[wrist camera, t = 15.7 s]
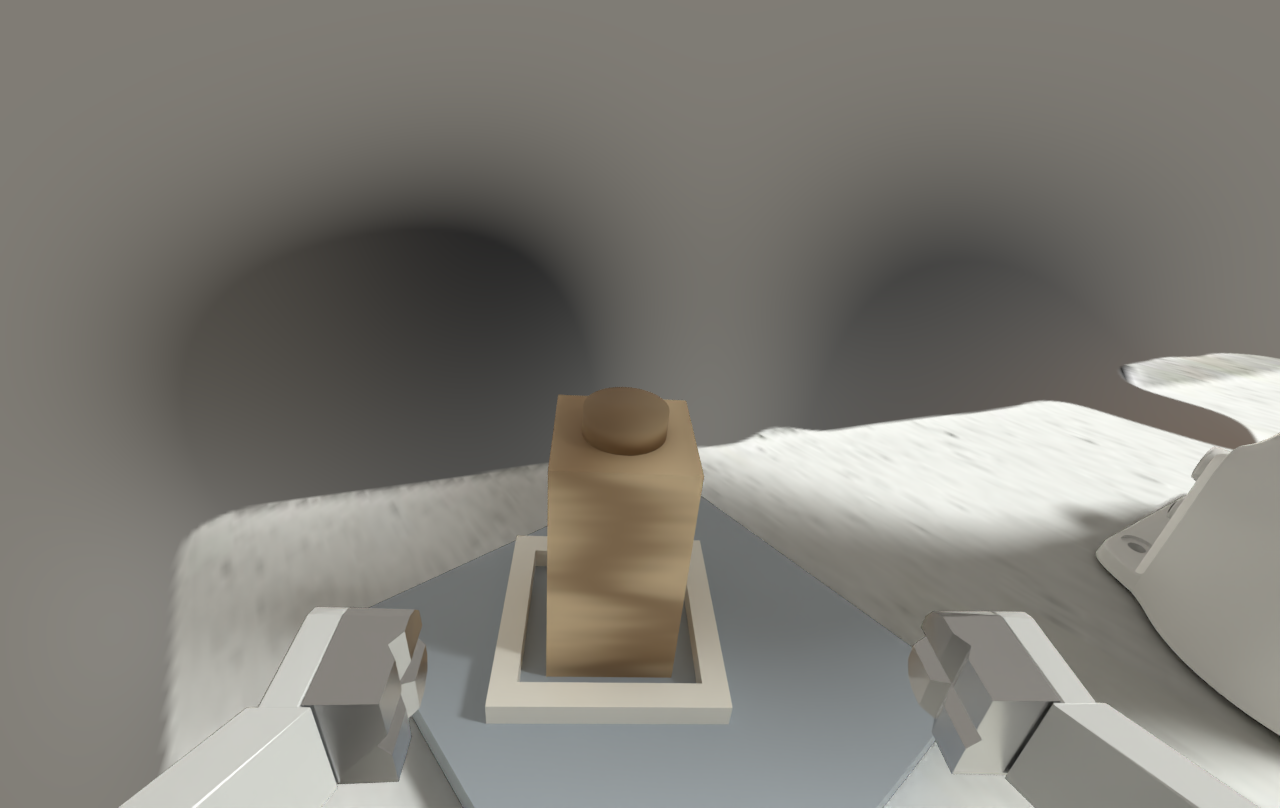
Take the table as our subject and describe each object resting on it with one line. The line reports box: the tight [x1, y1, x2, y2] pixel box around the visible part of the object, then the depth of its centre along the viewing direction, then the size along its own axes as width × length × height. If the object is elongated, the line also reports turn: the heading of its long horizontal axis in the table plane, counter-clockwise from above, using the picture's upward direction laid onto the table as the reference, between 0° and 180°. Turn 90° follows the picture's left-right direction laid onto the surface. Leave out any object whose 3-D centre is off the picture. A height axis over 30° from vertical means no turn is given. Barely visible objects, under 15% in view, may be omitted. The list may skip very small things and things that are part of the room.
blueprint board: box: [369, 496, 935, 808], centre depth 26 cm, size 18×18×2 cm
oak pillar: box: [546, 387, 704, 678], centre depth 24 cm, size 5×5×11 cm
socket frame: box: [485, 535, 733, 724], centre depth 26 cm, size 9×9×1 cm
